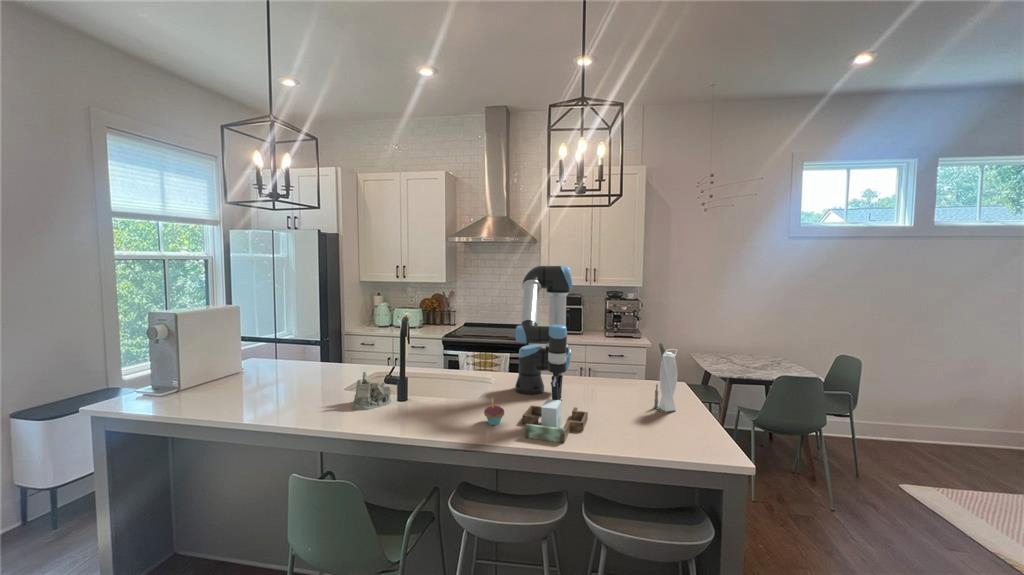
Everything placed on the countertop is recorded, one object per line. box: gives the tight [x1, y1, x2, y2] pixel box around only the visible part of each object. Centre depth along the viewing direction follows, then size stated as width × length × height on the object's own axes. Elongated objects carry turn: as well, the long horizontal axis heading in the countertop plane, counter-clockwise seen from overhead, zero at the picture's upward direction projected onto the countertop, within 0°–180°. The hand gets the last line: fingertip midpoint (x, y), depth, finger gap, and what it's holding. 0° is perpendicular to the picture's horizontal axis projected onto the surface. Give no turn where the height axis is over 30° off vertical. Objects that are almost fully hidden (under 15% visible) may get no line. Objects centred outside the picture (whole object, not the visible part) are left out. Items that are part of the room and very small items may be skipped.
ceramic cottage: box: [351, 371, 392, 411], centre depth 200 cm, size 16×16×15 cm
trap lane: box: [522, 405, 589, 444], centre depth 177 cm, size 25×30×5 cm
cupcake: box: [483, 396, 505, 426], centre depth 179 cm, size 9×8×12 cm
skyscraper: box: [653, 348, 679, 413], centre depth 196 cm, size 8×8×28 cm
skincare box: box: [540, 398, 562, 428], centre depth 173 cm, size 10×6×10 cm, turn 162°
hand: (556, 417), depth 182 cm, fingers closed
